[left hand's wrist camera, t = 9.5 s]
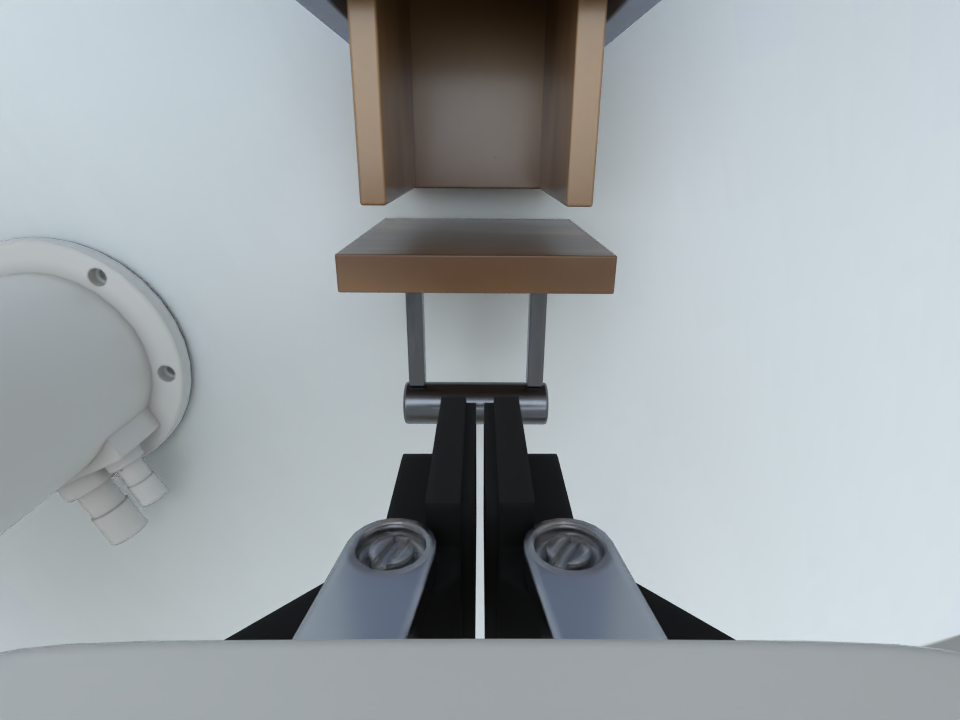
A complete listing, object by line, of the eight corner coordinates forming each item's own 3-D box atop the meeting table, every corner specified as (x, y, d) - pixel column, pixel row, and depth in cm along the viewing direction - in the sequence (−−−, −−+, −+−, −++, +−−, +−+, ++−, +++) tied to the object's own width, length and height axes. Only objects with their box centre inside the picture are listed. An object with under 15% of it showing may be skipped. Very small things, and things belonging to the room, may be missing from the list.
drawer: (561, 361, 29) (598, 459, 20) (392, 361, 29) (351, 458, 20) (601, -297, 20) (702, -670, 11) (357, -298, 20) (254, -673, 11)
